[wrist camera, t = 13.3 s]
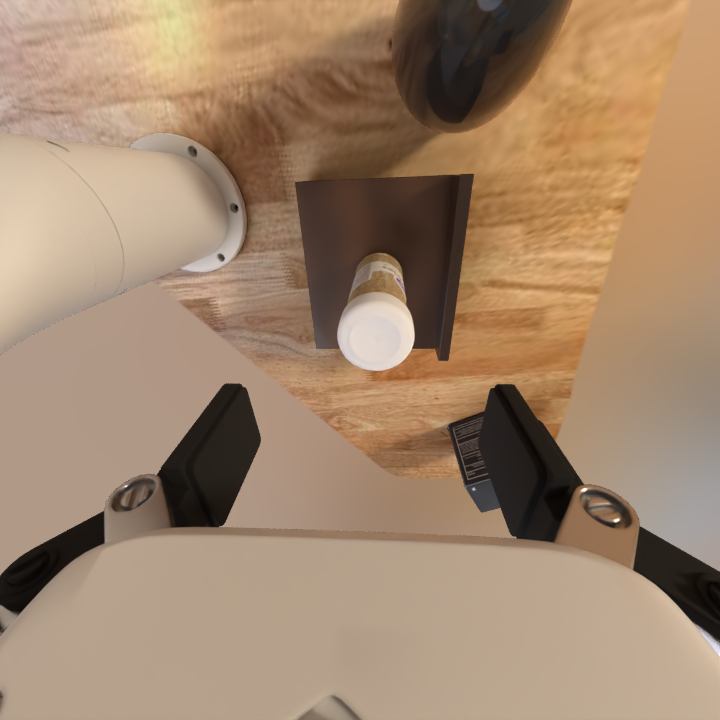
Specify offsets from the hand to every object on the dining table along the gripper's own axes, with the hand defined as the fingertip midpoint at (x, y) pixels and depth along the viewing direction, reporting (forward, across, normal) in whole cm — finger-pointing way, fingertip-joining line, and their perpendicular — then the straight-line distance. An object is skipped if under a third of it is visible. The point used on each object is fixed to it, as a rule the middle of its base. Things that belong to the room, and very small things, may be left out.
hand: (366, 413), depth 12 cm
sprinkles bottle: (+20, 0, 0) cm, 20 cm away
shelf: (+25, 0, 0) cm, 25 cm away
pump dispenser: (+25, -6, -16) cm, 30 cm away
